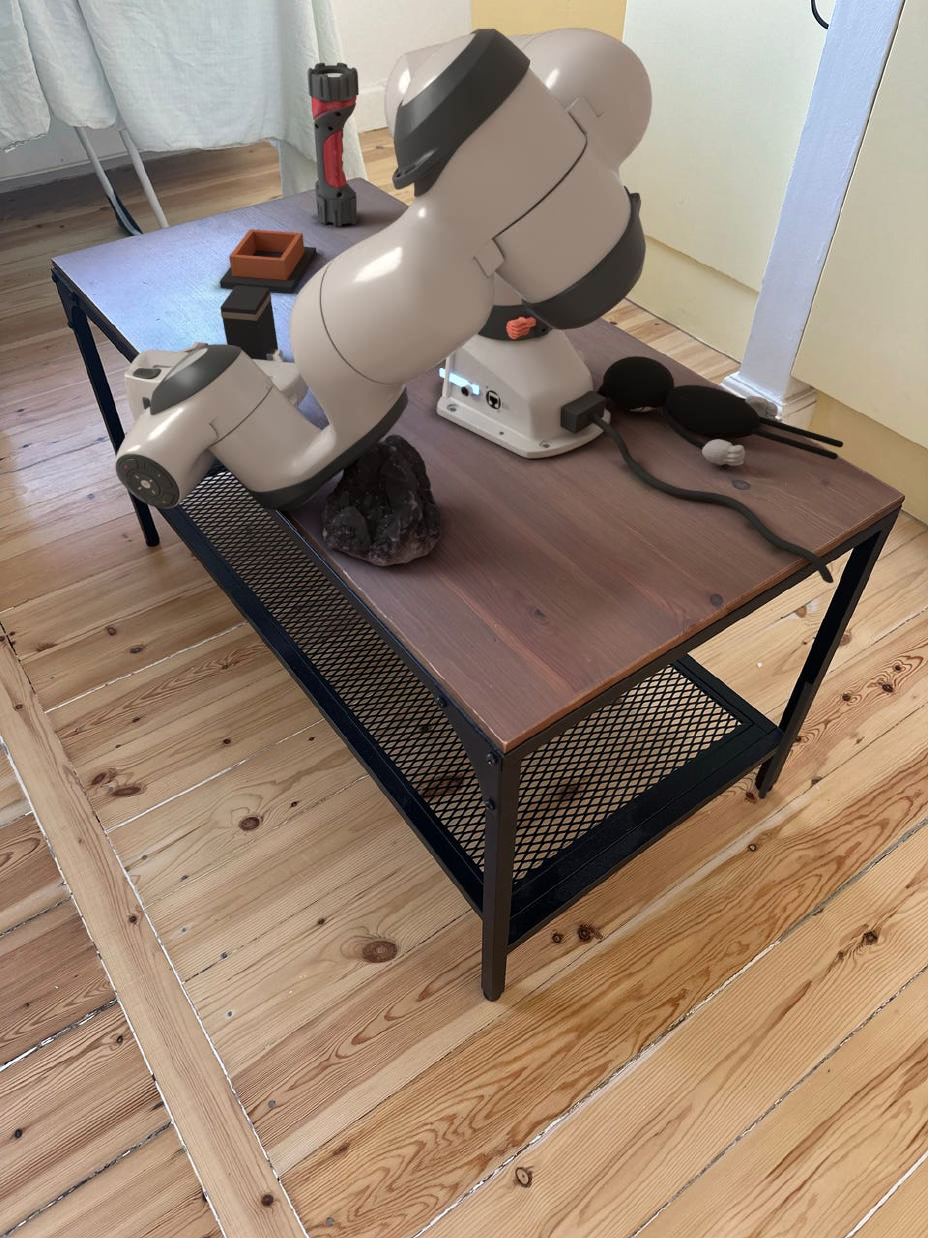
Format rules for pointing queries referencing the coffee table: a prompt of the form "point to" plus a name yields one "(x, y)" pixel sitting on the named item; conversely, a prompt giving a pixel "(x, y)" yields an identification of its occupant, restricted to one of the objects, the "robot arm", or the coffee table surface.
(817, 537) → the coffee table surface
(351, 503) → the crystal cluster
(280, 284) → the orange and black tray
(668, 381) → the toy
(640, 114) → the robot arm
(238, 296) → the black box with band
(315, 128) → the flashlight
